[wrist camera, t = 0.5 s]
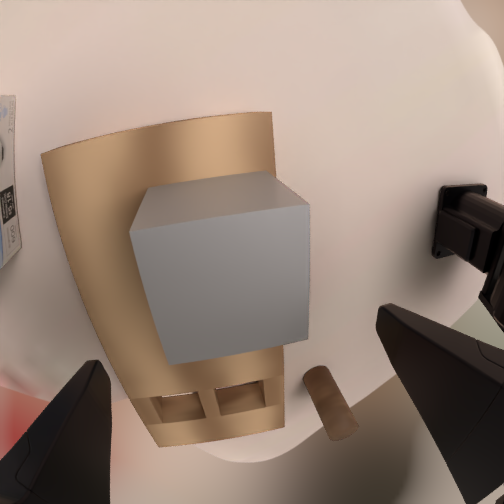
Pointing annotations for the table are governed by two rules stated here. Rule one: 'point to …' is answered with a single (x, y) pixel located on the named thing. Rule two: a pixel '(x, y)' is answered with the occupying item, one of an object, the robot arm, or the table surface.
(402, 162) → the table surface
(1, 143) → the light bulb box
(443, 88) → the table surface
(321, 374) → the pin
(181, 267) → the grey cube
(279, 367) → the board
